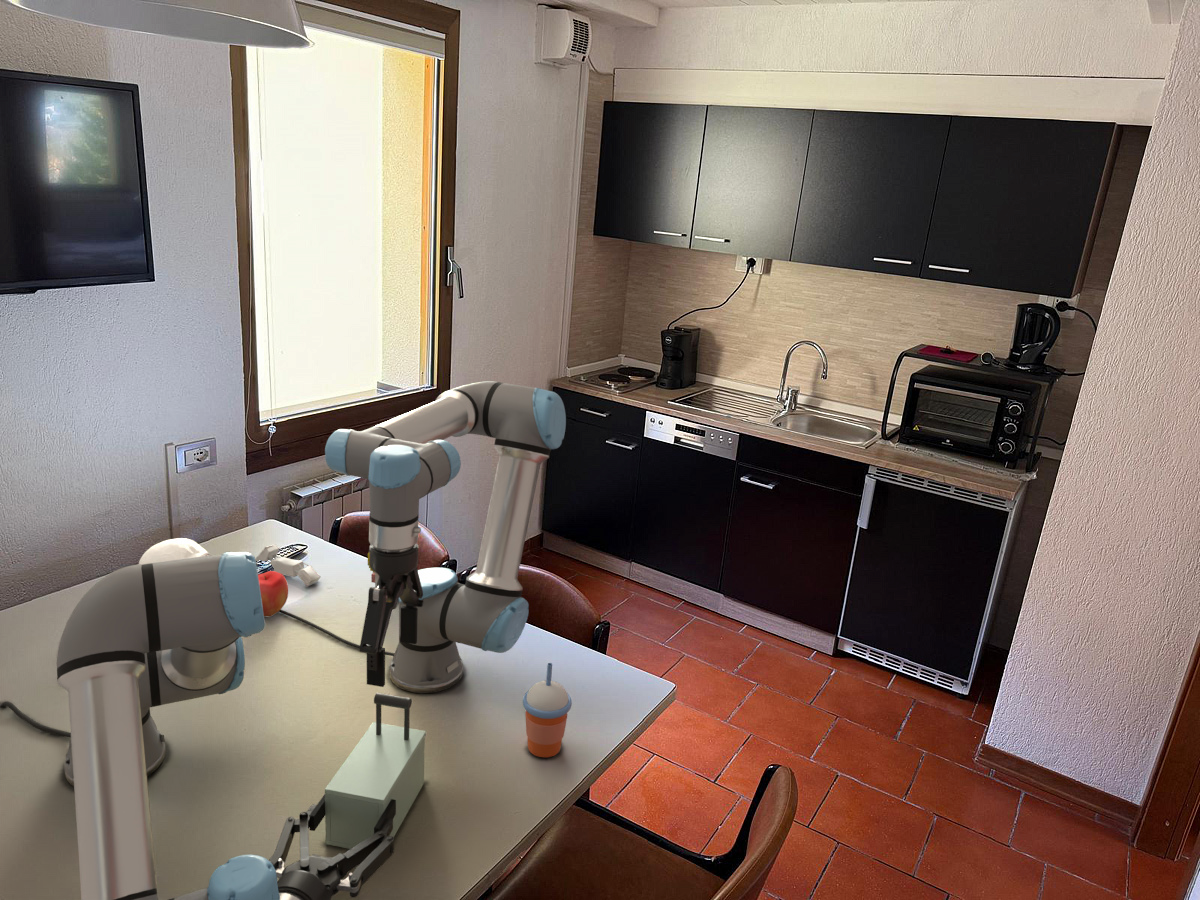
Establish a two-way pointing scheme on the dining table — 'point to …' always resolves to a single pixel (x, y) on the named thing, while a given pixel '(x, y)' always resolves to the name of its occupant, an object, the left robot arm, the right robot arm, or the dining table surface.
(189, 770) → the dining table surface
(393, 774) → the lid
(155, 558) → the skull
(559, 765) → the dining table surface
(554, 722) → the cup with straw
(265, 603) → the apple
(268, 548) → the white long bent piece
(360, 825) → the chest
